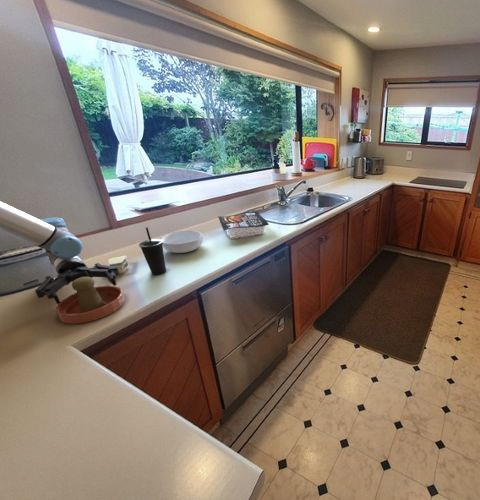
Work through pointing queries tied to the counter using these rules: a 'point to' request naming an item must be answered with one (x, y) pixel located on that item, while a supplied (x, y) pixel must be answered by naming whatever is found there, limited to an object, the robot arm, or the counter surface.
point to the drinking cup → (154, 254)
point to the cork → (87, 294)
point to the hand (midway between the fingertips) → (87, 290)
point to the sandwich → (119, 263)
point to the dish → (72, 311)
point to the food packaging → (243, 224)
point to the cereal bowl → (182, 241)
